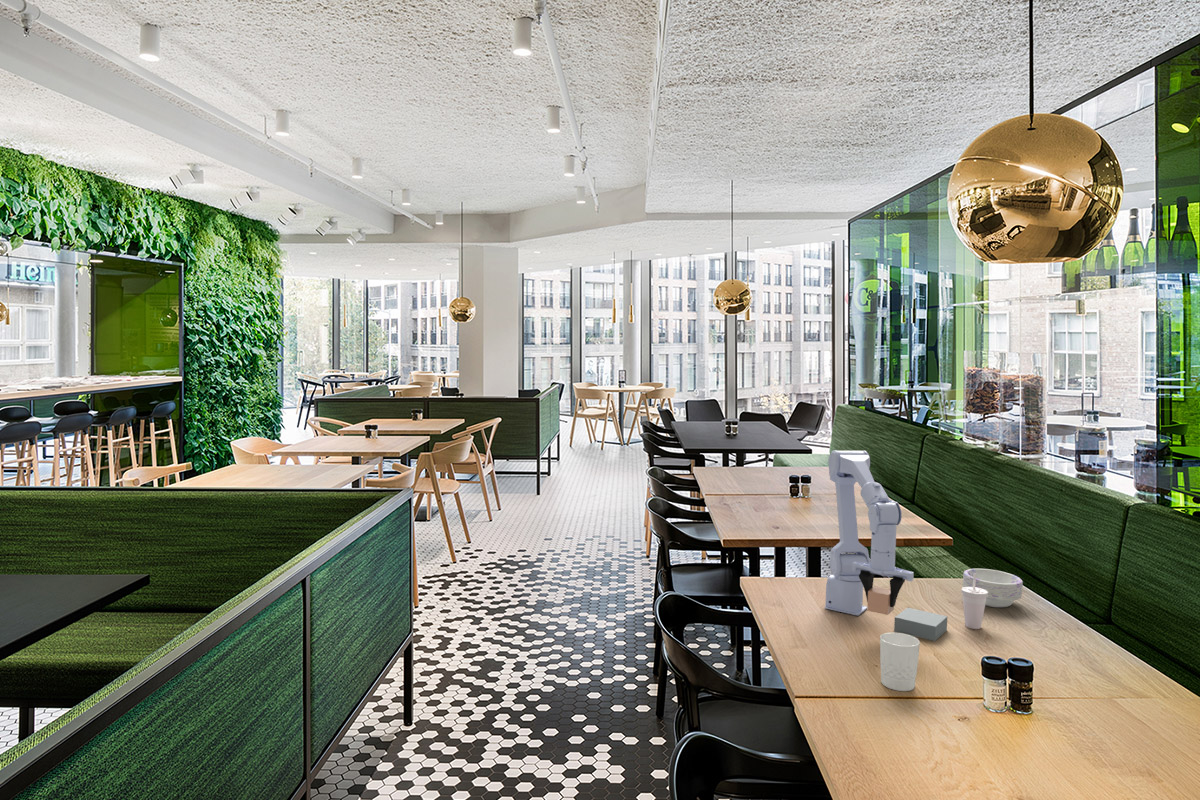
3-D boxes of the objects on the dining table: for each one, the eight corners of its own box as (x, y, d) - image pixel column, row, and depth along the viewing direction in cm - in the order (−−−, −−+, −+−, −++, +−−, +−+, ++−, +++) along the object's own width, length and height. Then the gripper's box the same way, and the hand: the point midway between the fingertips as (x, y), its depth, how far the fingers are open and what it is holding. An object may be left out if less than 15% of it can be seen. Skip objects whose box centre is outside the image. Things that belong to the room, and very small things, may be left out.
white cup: (916, 680, 166) (918, 635, 165) (918, 695, 158) (920, 648, 158) (877, 674, 168) (879, 630, 168) (878, 689, 161) (880, 643, 160)
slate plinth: (894, 632, 195) (894, 617, 195) (907, 622, 203) (907, 607, 203) (934, 642, 189) (935, 626, 189) (946, 631, 196) (947, 616, 196)
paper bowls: (1032, 612, 212) (1034, 583, 211) (977, 610, 212) (978, 582, 211) (1004, 594, 227) (1005, 568, 226) (952, 593, 227) (954, 567, 226)
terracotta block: (867, 610, 190) (868, 590, 190) (873, 605, 194) (874, 586, 194) (887, 615, 187) (888, 595, 187) (893, 609, 191) (894, 590, 191)
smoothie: (980, 622, 202) (983, 570, 201) (990, 631, 196) (993, 578, 195) (955, 621, 203) (958, 569, 202) (964, 630, 196) (967, 576, 196)
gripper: (848, 548, 191) (846, 601, 192) (908, 558, 182) (906, 614, 183) (858, 542, 197) (856, 594, 197) (916, 552, 188) (914, 606, 189)
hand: (880, 603), depth 191 cm, fingers closed on terracotta block, 5 cm apart
